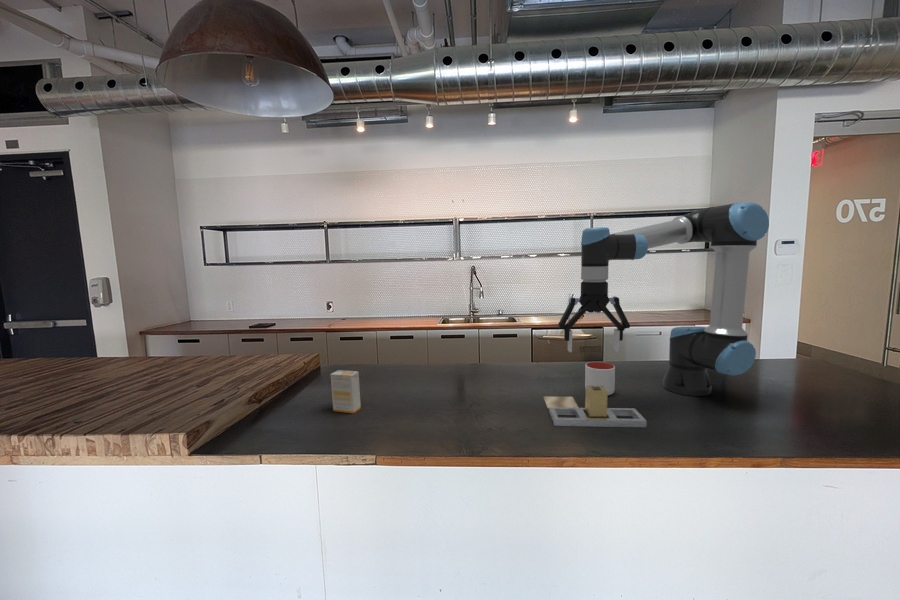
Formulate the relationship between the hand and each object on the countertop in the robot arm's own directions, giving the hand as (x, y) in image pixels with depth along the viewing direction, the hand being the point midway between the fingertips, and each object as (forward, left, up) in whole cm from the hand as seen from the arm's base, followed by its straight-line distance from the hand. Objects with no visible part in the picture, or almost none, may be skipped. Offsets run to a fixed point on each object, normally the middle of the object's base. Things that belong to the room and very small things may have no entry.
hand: (592, 351), depth 114 cm
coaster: (+7, -12, -21) cm, 25 cm away
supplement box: (+79, -4, -21) cm, 82 cm away
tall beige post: (-1, +1, -21) cm, 21 cm away
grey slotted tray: (-1, +1, -21) cm, 21 cm away
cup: (-9, -23, -21) cm, 32 cm away
